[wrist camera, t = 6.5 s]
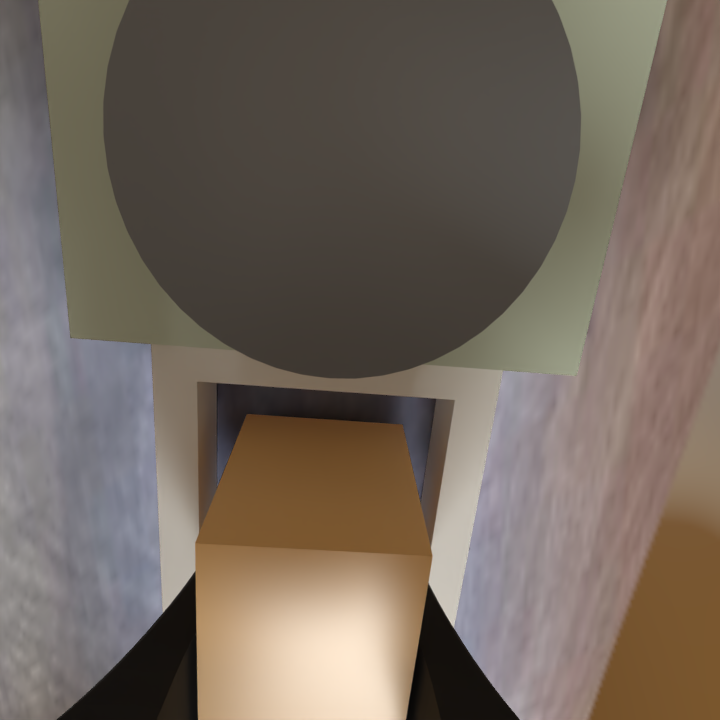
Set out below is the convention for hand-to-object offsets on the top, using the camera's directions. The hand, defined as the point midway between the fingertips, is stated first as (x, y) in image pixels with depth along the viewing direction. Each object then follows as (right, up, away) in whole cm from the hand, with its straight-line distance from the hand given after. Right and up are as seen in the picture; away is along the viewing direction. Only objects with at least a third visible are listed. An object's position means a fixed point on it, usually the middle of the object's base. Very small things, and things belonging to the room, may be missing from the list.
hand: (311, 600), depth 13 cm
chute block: (0, +1, +2) cm, 2 cm away
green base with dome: (0, +5, +2) cm, 5 cm away
